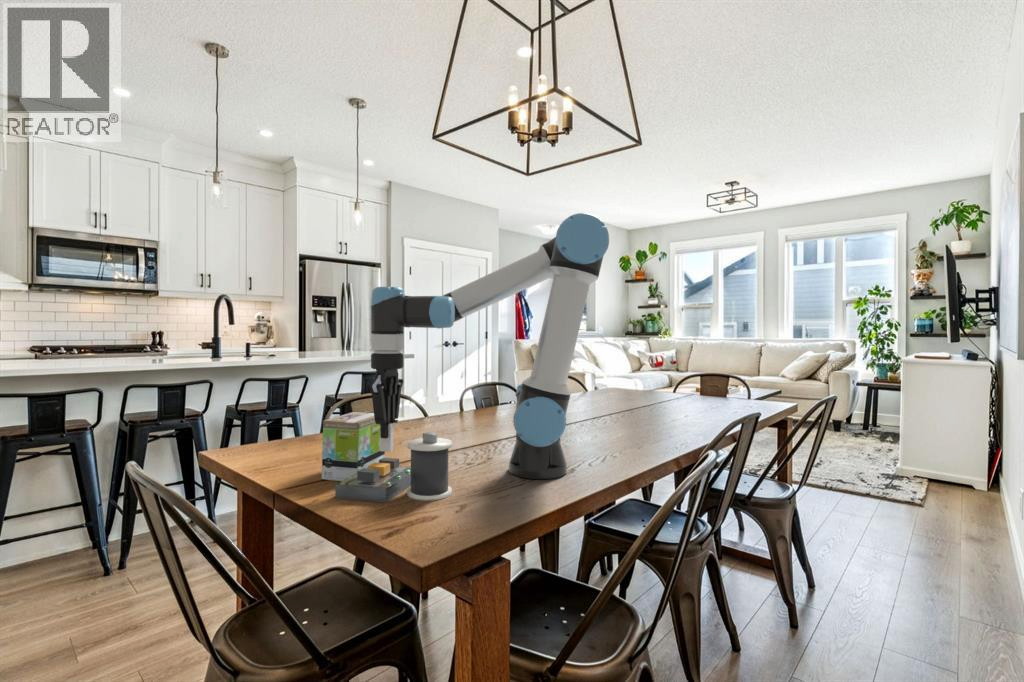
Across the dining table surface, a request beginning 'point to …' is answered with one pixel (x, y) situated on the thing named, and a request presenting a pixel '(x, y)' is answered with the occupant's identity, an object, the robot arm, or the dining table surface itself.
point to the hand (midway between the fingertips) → (386, 450)
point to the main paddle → (381, 468)
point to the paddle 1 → (368, 475)
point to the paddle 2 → (390, 462)
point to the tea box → (349, 445)
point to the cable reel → (429, 468)
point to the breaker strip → (375, 486)
